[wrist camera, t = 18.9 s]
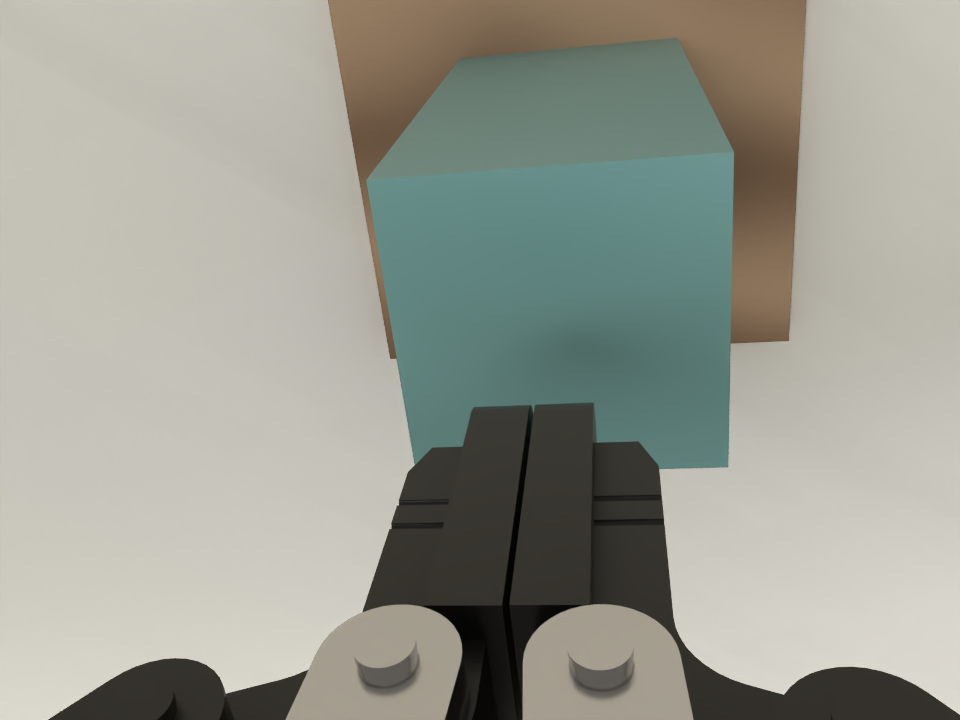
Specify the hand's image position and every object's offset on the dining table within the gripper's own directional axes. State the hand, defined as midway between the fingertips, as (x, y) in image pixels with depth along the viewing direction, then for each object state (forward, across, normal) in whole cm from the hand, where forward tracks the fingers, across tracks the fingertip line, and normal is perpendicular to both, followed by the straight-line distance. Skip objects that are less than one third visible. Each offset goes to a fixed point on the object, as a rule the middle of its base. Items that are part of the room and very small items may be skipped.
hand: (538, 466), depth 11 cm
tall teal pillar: (+15, 0, 0) cm, 15 cm away
